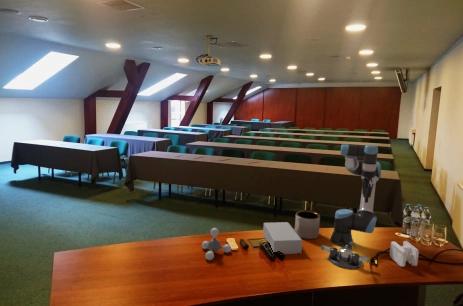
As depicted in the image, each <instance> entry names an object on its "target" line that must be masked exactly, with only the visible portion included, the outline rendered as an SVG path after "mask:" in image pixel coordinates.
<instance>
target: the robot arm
mask: <svg viewBox="0 0 463 306" xmlns="http://www.w3.org/2000/svg"><path fill="white" fill-rule="evenodd" d="M378 154H379V147H378V145H375V144H366V145H359V144H358V145H356V144H347V143H346V144H345V143H344V144H341V147H340V155H341V156H344V159H345V163H344V166H345V169H346V170H347V171H348V172H349V173H350V174H352V175H354V176H360V177H361V180H362V183H361V184H362V186H361V193H360V194H361V196H360V202H359V203H360V204H359V209H357V211H356V213H354V211H353V210H351V209H347V208H343V209H341V208H340V209H338V210H336V211H335V214H334V215H335V216H334V225H333V231H332V234H331V236H330V242H331V243H332V244H334V245H337V246H339V247H345V244H349V242H350V241H352V242H353V243H354V240H353V236H352V231H355V232H360V233H366V234H373V233H374V232H375V231H374V230H375V227H376V222H377V218H378V217H377V216H376V214H375V213H374V203H375V195H376V194H375V192H376V183H377V182H378V181H379V179H381V178H382V167H381V166H382V165H381V162H379V161H378ZM358 158H363V160H360V159H358Z"/></svg>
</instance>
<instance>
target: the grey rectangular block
mask: <svg viewBox="0 0 463 306" xmlns="http://www.w3.org/2000/svg"><path fill="white" fill-rule="evenodd" d="M320 248H321V249H320V250H321V251H323V252H327V253H329V254H330V259H333V260H336V259H337V252H338V249H339V248H337V247H334V246H333V247H330V246H327V245H324V244H322V245H321V247H320Z"/></svg>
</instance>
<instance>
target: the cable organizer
mask: <svg viewBox="0 0 463 306" xmlns="http://www.w3.org/2000/svg"><path fill="white" fill-rule="evenodd" d="M389 248H390V249H389V257H390V258H391V259H392V260H393V262H395V263H396V264H397V265H398V266H399V267H403V268H404V267H405V266H406V262H408V264H409V265H411V266H412V267H417V266H418V262H419V253H420V251H419V249H418V248H416V247H415V246H414V245H412V243H410V242H409V241H407V240H404V241H403V244H402V245H400V244H398V242H396V241H390V247H389Z"/></svg>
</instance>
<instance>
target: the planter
mask: <svg viewBox="0 0 463 306" xmlns="http://www.w3.org/2000/svg"><path fill="white" fill-rule="evenodd" d="M294 220H295V221H294V231H295V232H296V233H297V234H298V236H299V237H300V238H301V239H306V240H313V239H316V238H318V237H319V235H320V222H321V215H320V214H319V213H317V212H314V211H311V210H300V211H297V212H296V213H295V219H294Z"/></svg>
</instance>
